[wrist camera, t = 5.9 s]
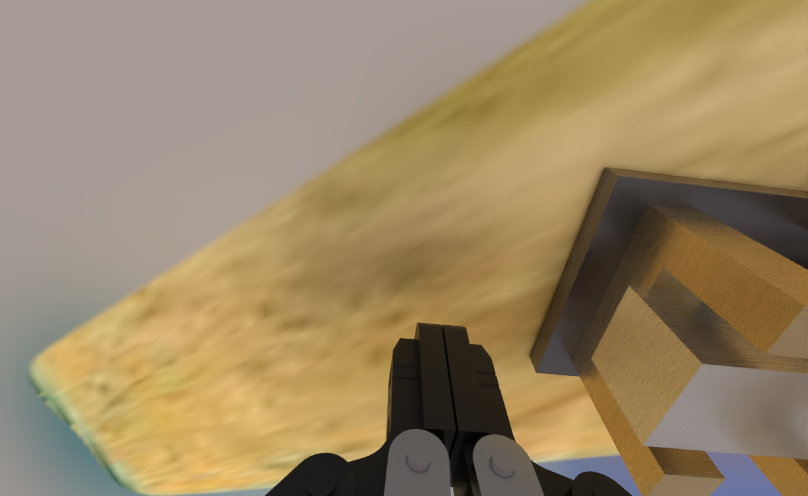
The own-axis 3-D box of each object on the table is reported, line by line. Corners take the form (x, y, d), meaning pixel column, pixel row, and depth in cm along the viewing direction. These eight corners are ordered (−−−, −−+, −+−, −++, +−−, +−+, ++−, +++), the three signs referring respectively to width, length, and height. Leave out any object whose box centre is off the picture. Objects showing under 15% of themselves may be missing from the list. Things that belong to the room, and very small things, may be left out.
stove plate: (991, 214, 14) (1028, 224, 14) (821, 384, 19) (841, 400, 18) (605, 167, 14) (618, 176, 13) (530, 357, 18) (536, 372, 18)
